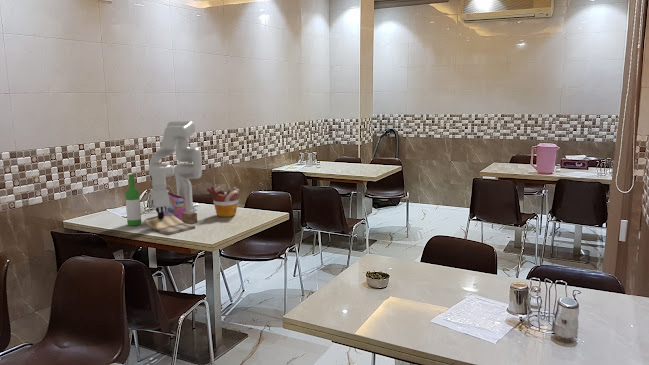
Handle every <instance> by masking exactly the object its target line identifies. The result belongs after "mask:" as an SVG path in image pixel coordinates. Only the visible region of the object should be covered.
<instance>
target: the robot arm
mask: <svg viewBox="0 0 649 365" xmlns="http://www.w3.org/2000/svg"><path fill="white" fill-rule="evenodd" d="M195 130H196V124H195V123H194V122H193V121H190V120H173V121H168V123H167V126H166V127H165V128H164V131H163V137H162V141H161V144H160V145H161V146H160V148H158V150H156V151H155V153H153V154H152V155H151V158H150V160H149V164H148V166H149V167H148V174H149V175H150V176H151V183H152V184H151V186H152V190H151V191H150V197H149V198H150V199H149V200H150V201H149V205H150V207H151V210H152V211H156V213H157V218H158V219H164V211H165V209H166V208H168V207H169V195H168V193H169V192H168V191H169V190H168V189H167V187H168V184H167V178H170V177H173V175H174V177H175V183H176V195H178V196H181V197H184V198H185V201H186V212H187V211H190V212H196V208H197V207H200V205H199V203H193V186H192V183H191V181H190V179H193V180H194V179H201V177H202V174H203V170H202V169H203V168H202V167H203V166H202V165H203V163H202V151H201V150H200V148H199V147H195V146H193V147H192V146H191V147H190V143H189V138H190V137H191V136H193V135H194V133H195ZM174 153H175V159H176V160H177V161H178V162H181V163H178V164H176V165H175V166H173V165H172V164H166V163H165V164H163V163H160V164H159V162H160V160H162V159H163V158H166V157H168V156H170V155H172V154H174Z"/></svg>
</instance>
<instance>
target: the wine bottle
mask: <svg viewBox="0 0 649 365" xmlns="http://www.w3.org/2000/svg"><path fill="white" fill-rule="evenodd" d="M127 176H128V188H127V189H126V192H125V195H124V196H125V209H126V222H127V225H128V226H129V227H130V226H131V227H136V226H139V225H141V224H142V210H141V199H140V192H139V190H138V189H137V188H136V187H135V174H132V173H131V174H130V173H129V174H128V175H127Z"/></svg>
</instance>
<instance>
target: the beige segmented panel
mask: <svg viewBox="0 0 649 365" xmlns="http://www.w3.org/2000/svg"><path fill="white" fill-rule="evenodd" d="M145 224H146V225H148V227H151V228H152V229H153V230H154V231H156V232H158V233H160V232H159V230H160V229H164V228H168V227H172V226H176V225H180V224H184V222H182V220H179V219H178V218H177V217H175V216H174V215H168V216H164V219H158V217H156V218H151V219H146V220H145Z"/></svg>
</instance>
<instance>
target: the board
mask: <svg viewBox="0 0 649 365" xmlns="http://www.w3.org/2000/svg"><path fill="white" fill-rule="evenodd" d="M193 229H196V224H195V225H194V224H188V223H184V224H180V225H176V226H172V227H168V228H164V229H160V230H159V232H158V233H160V234H164V235H167V234H168V236H170V235H173V234H177V233H182V232H186V231H190V230H193Z"/></svg>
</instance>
